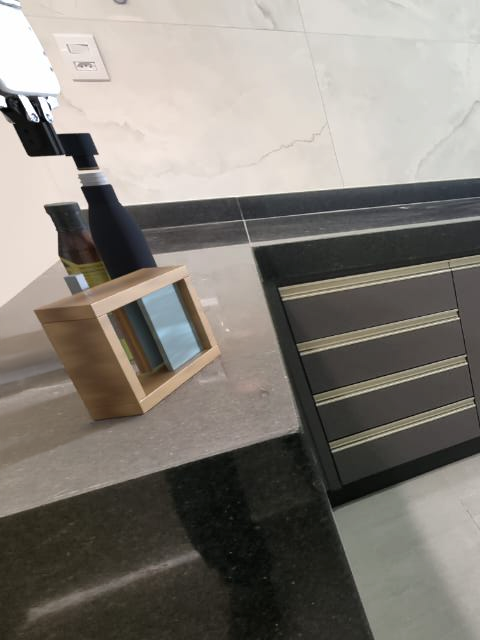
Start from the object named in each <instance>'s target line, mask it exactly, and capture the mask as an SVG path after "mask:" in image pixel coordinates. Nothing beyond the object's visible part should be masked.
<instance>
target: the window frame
mask: <svg viewBox="0 0 480 640" xmlns="http://www.w3.org/2000/svg"><path fill="white" fill-rule="evenodd" d="M135 300H137V303H138V305H139V307H140V309H141V311H142V314H143V316H144V318H145V320H146V322H147V325H148V327H149V329H150V331H151V333H152V336H153V338H154V340H155V342H156V344H157V347H158V349H159V351H160V353H161V355H162V358H163V360H164V363H162V364H161V365H159V366H158V367H156V368H155V369H153V371H152V372H150V373H146V374H141V373H139V374H136V372H135V370H134V367H133V366H132V364H131V362H130V361H129V360H128V357H127V355H126V353H125V351H124V349H123V347H122V345H121V343H120V341H119V339H118V337H117V335H116V333H115V331H114V329H113V326H112V324H111V322H110V320H109V318H108V316H107V313H109V312H111V311H113V310H115V309H117V308H120V307H122V306H124V305H126V304H128V303H131V302H133V301H135ZM33 312H34V314H35V316H36V318H37V320H38V322H39V323H40V324H41V327H42V329H43V331H44V333H45V334H46V336H47V338H48V340H49V343H50V344H51V346H52V347H53V349H54V351H55V353H56V355H57V356H58V359H59V360H60V362H61V364H62V366H63V368H64V370H65V371H66V373H67V375H68V377H69V379H70V381H71V383H72V385H73V386H74V388H75V390H76V392H77V393H78V395H79V397H80V400H81V401H82V403H83V404H84V406H85V409H86V410H87V412H88V414H89V417H90V418H91V419H92V421H98V420H107V419H113V418H114V419H115V418H122V417H131V416H137V415H138V416H139V415H144V414H146V413H147V412H148V411H150V410H151V409H153V408H154V407H155V406H156V405H157V404H159V403H160V402H161V401H162V400H164V399H165V398H166V397H167V396H169V395H170V394H171V393H173V392H174V391H175V390H177V389H178V388H180V386H182V385H183V384H184V383H186V382H187V381H188V380H189V379H191V378H192V377H193V376H195V375H196V374H197V373H198V372H200V371H201V370H202V369H204V368H205V367H206V366H207V365H209V364H210V363H211V362H212V361H214V360H215V359H216V358H218V357H219V356H220V355H221V354H222V352H221V350H220V348H219V347H220V346H218V343H217V340H216V338H215V335H214V332H213V330H212V328H211V325H210V323H209V320H208V318H207V315H206V313H205V310H204V308H203V305H202V303H201V300H200V298H199V296H198V293H197V290H196V288H195V286H194V283H193V281H192V278H191V276H190V273H189V271H188V268H187V266H186V265H185V264H179V265H171V266H170V265H168V266H167V265H166V266H157V267H155V268H143V269H140V270H138V271H135V272H132V273H130V274H127V275H124V276H122V277H119V278H117V279H114V280H111V281H109V282H106V283H103V284H101V285H98V286H95V287H93V288H90V289H87V290H85V291H82V292H80V293H77V294H74V295H72V294H71V295H69V296H67V297H64V298H62V299H61V298H60V299H58V300H56V301H53V302H51V303H49V304H45V305H43V306H40V307H37V308H34V309H33Z"/></svg>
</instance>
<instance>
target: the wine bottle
mask: <svg viewBox="0 0 480 640" xmlns="http://www.w3.org/2000/svg"><path fill="white" fill-rule="evenodd" d="M56 134H57V136H58V138H59V140H60V143H61V145H62V147H63V149H64V151H65V155H64V156H65V157H66V158H67V157H72V160H73V162H74V164H75V167H76V170H77V171H79V172H81V171H95V170H97V171H99V170H100V166H99V165H98V162H97V161H96V158H95V156H99V155H100V154H99V152H98V149H97V147H96V144H95V142H94V139H93V137H92V135H91V133H90V132H69V133H65V132H64V133H56ZM77 176H78V177H77V179H78V180H80V182H79V183H80V184H81V185H82V186H80V190H81V192H82V194H83V197H84V199H85V201H86V203H87V215H88V216H87V217H88V228H89V230H90V232H91V236H92V239H93V242H94V244H95V246H96V248H97V250H98V252H99V254H100V257H101V259H102V261H103V263H104V265H105V267H106V270H107V272H108V274H109V276H110V278H111V280H114V279H117V278H119V277H122V276H124V275H127V274H130V273H132V272H135V271H138V270H140V269H143V268H155V267H158V264H157V262H156V259H155V258H154V257H155V256H154V255H153V253H152V250H151V248H150V245H149V243H148V241H147V239H146V235H145V233H144V231H143V230H142V228H141V227H140V225H139V224H138V223H137V221H136V220H135V218H134V216H133V215H131V214H130V212H129V211H128V210H127V208H125V207H124V205H122V203H121V202H120V200H119V199H118V196H117V194H116V192H115V188H114V187H113V185H112V184H110V183H108V182H109V180H108V179H107V178H106V177H107V175H106V174H104V172H88V173H87V172H86V173H77Z"/></svg>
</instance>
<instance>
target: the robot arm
mask: <svg viewBox="0 0 480 640" xmlns="http://www.w3.org/2000/svg"><path fill="white" fill-rule="evenodd" d="M21 9H22V5H21V3H20V1H19V0H0V112H1V114H2V115H3V117H4V119H5V120H6V122H8V123H9V124H12V127H13V128H14V130H15V132H16V134H17V136H18V139H19V141H20V143H21V145H22V147H23V148H24V151H25V153H26V155H27V156H28V157H31V158H37V157H38V158H39V157H59V156H60V157H61V156H65V151H64V149H63V147H62V145H61V143H60V140H59V138H58V136H57V134H58V133H57V132H56V130H55V127H54V124H53V123H54V117H53V114H52V110H54V109H55V110H56V109H57V108H60V102H59V100H58V98H57V97H58V96H59V95H60V93H61V86H60V83H59V80H58V78H57V75H56V73H55V71H54V68H53V66H52V64H51V62H50V60H49V58H48V56H47V54H46V52H45V50H44V48H43V46H42V45H41V42H40V41H39V39H38V36H37V35H36V33H35V32H34V30H33V28H32V25H31V24H30V22H29V21H28V19H27V17H26V16H25V14H24V13H23V11H22V10H21Z"/></svg>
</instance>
